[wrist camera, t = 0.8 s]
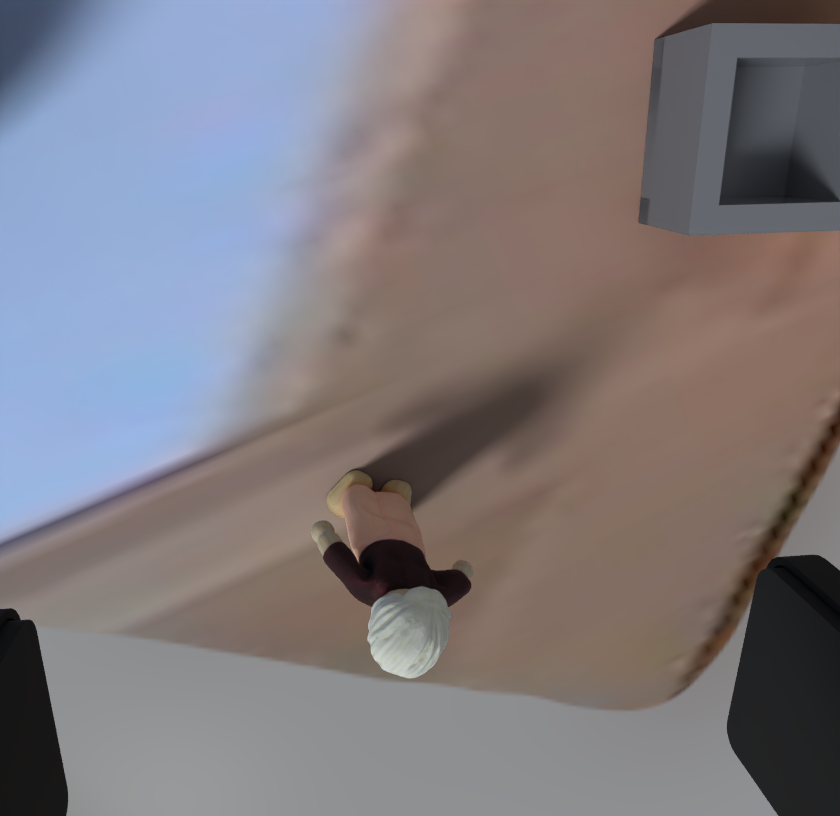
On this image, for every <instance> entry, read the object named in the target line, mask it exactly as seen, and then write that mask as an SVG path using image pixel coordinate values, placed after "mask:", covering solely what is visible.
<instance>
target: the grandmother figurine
mask: <svg viewBox="0 0 840 816" xmlns="http://www.w3.org/2000/svg"><path fill="white" fill-rule="evenodd" d="M372 486H373V483H372V479H371V478H370V476H369V475H367V474H365V473H364V472H361V471H357V470H355V471H351V472H349V473H347V474H346V475H345V476H344V477H343V478H342V479H341V480H340V481H339V482H338V483H337V484H336V485H335V487H334V488H333V489H332V490H331V491H330V492H329V494H328V496H327V505H328V507H329V509H330V510H331V511H332V512H333V513H334V514H335V515H337V516H339V517H342V518H345V521H346V525H347V530H348V537H349V540H350V545H351V548H352V550H353V552H354V554H355V556H354V554H353V553H352V551H351V550H350V549H349V548H348V547H347V546H346V545H345V544H344V543H343V542H342V540H341V539H340V537H339V536H338V535H337V534H336V533H335V531H334V528H333V526H332V525H331V523H329V522H328V521H318V522H317V523H315V524H314V525H313V527H312V530H311V535H312V538H313V539H314V541H315V542H317V543H318V548H319V550H320V552H321V553H322V555H323V559H324V561H325V563H326V564H327V566H328V567H329V568H330V569H331V570H332V571H333V572H334V573H335V575H336V576H337V577H338V578H339V579H340V580H341V581H342V582H343V583H344V585H345V586H346V588H347V589H348V590H349V592H350V593H351V594H352V595H353V596H354V597H355V598H356V599H358V600H359V601H361V602H362V603H365V604H367V605H369V606H371V607H372V609H371V618H370V621H369V623H368V628H369V634H368V638H367V640H368V641H369V643H370V644H371V654H372V655H373V657H374V659H375V661H377V662H378V663H379V664H380V666H381V668H382V669H383V670H385V671H387V672H390V673H393V674H396V675H399V676H402V677H406V678H415V677H418V676H420V675H422V674H424V673H426V672H427V671H428V670H429V669H430V668H431V667H432V666H434V664H435V663H436V661H437V660H438V657H439V656H440V654H441V653H442V651H443V650H444V648H445V646H446V643H447V641H448V635H449V619H450V618H452V617H453V615H452V614H451V612H450V611H449V610H448V607H449V606H451V605H453V604H454V603H456V602H457V601H458V600H459V599H461V598H462V597H463V596H464V595H466V594H467V593H468V592H469V591H470V589H471V582H470V579H471V577H472V575H473V568H472V566H471V565H470V563H468V562H467V561H464V560H459V561H457V562H455V563H454V564H453V566H452V568H451V570H445V571H435V570H431V569H430V567H429V566H428V564H427V562H426V558H425V550H424V545H423V541H422V536H421V532H420V529H419V527H418V525H417V522H416V520H415V518H414V515H413V512H412V510H411V507H410V505H411V496H412V489H411V487H410V485H409V484H408V483H406V482H404V481H401V480H391V481H389V482H387V483H386V484H385V485H384V486H383V488H382V490H381V492H374V491H372V490H371V489H372Z"/></svg>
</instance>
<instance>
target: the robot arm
mask: <svg viewBox="0 0 840 816" xmlns="http://www.w3.org/2000/svg"><path fill="white" fill-rule="evenodd" d="M727 733H728V737H729V741H730V744H731V747H732V749H733V750H734V752H735V754H736V755H737V757H738V758H739V760H740V761H741V763H742V764H743V765H744V767H745V768H746V770H747V771H748V773H749V774H750V775H751V777H752V778H753V780H754V781H755V783H756V784H757V785H758V787H759V788H760V790H761V791H762V793H763V794H764V795H765V797H766V798H767V800H768V801H769V803H770V804H771V806H772V807H773V809H774V810H775V811H776V813H777V814H778V816H840V571H839V570H838V569H837V568H836V567H835V566H833V565H832V564H831V563H830V562H828V561H827V560H826V559H824V558H822V557H821V556H819V555H801V556H789V557H776V558H774V559H772V560H771V561H770V563H769V564H768V566H767V569H763V570H761V572H760V573H759V574H758V577H757V580H756V585H755V590H754V595H753V599H752V604H751V609H750V614H749V619H748V624H747V628H746V633H745V638H744V643H743V648H742V653H741V657H740V663H739V667H738V672H737V677H736V682H735V687H734V692H733V696H732V701H731V706H730V711H729V715H728V721H727ZM67 806H68V789H67V783H66V779H65V773H64V768H63V763H62V758H61V753H60V748H59V743H58V737H57V732H56V727H55V722H54V717H53V712H52V707H51V702H50V697H49V691H48V686H47V681H46V676H45V671H44V666H43V661H42V656H41V650H40V646H39V640H38V635H37V630H36V627H35V624H34V623H33V621H31V620H20V617H19V615H18V613H17V612H16V610H14V609H11V608H10V609H0V816H66V813H67Z"/></svg>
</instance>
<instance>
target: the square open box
mask: <svg viewBox="0 0 840 816" xmlns="http://www.w3.org/2000/svg"><path fill="white" fill-rule="evenodd" d="M639 223H641V224H645V225H649V226H653V227H657V228H661V229H665V230H669V231H673V232H677V233H681V234H685V235H688V236H690V235H719V234H749V233H778V232H808V231H838V230H840V24H776V23H711V24H708V25H704V26H701V27H697V28H693V29H690V30H686V31H683V32H679V33H676V34H672V35H669V36H665V37H662V38H658V39H655V44H654V55H653V66H652V77H651V89H650V100H649V111H648V122H647V134H646V145H645V156H644V167H643V179H642V190H641V201H640V213H639Z"/></svg>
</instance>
